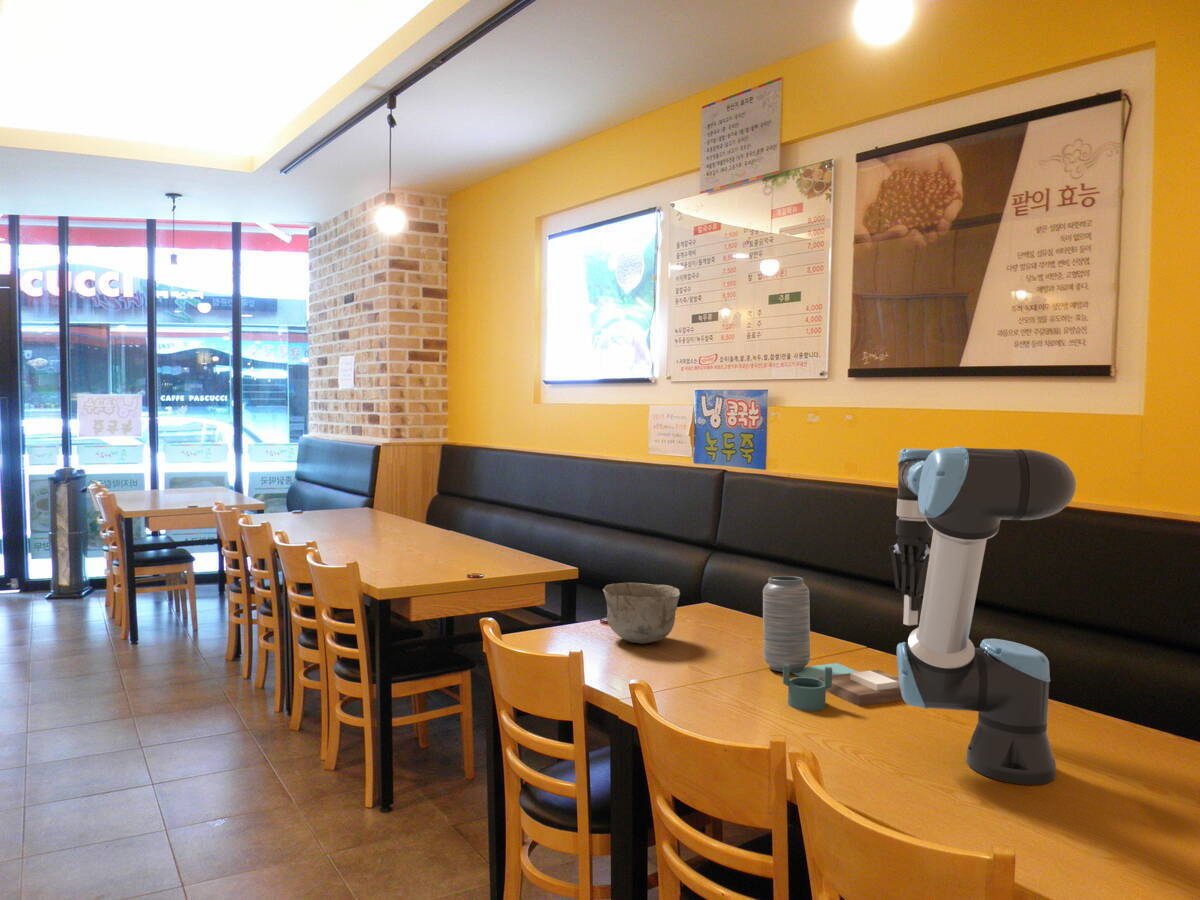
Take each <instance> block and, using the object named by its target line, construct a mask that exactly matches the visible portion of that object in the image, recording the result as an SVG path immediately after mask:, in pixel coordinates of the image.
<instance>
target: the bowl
mask: <svg viewBox="0 0 1200 900" xmlns="http://www.w3.org/2000/svg"><path fill="white" fill-rule="evenodd" d="M602 591H603V594H604V597H605V601H606V609H607V618H606V619H607V624H608V626H609V627H610V629H611V630H612V631H613V633H614V634H616V635H617V636H619V637H620V638H621V639H622V640H624V641H627V642H630V643H634V644H635V643H636V644H641V645H642V644H644V645H645V644H649V643H655V642H658V641H661V640H663V639H665V638H667V636H669V634H670V633H671V632H672V630H673V628H674V625H675V620H676V611H677V610H678V608H677V607H678V602H679V599H680V596H681V592H680V589H679V588H677V587H675V586H672V585H668V584H651V583H642V582H618V583H610V584H606V585H605V586H604V588H602Z"/></svg>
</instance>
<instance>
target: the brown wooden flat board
mask: <svg viewBox="0 0 1200 900" xmlns="http://www.w3.org/2000/svg"><path fill="white" fill-rule="evenodd" d="M864 671H865V670H863V671H862V672H864ZM870 671H873V672H875V673H877V674H880V675H882V676H885V677H887V678H890V679H892V680H895V681H897V688H893V689H886V690H879V691H876V690H874V689H871V688H869V687H867V686H864V685H862V684H860V683H857V682H855V681H853V680H850V673H848V674H841V675H833V676H832V687H830V688H827V689H826V693H830V694H832V695H834V696H836V697H838V698H840V699H842V700H845V701H847V702H849V703H851V704H852V705H855V706H857V707H862V706H869V705H874V704H875V705H876V704H882V703H887V702H895V701H901V700H903V698H902V694H901V689H900V683H899V676H895V675H893V674H890V673H887V672H885V671H882V670H881V669H873V670H872V669H870ZM819 680H822V681H825V677H819Z"/></svg>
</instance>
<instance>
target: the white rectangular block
mask: <svg viewBox="0 0 1200 900" xmlns="http://www.w3.org/2000/svg"><path fill="white" fill-rule="evenodd" d="M863 671H864V672H863ZM863 671H858V672H856V673H850V680H853V681H855V682H857V683H860V684H862V685H864V686H867V687H869V688H871V689H874V690H876V691H879V690H886V689H893V688H897V681H895V680H892V679H890V678H887V677H885V676H882V675H880V674H877V673H875V672H873V671H871V670H863Z"/></svg>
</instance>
